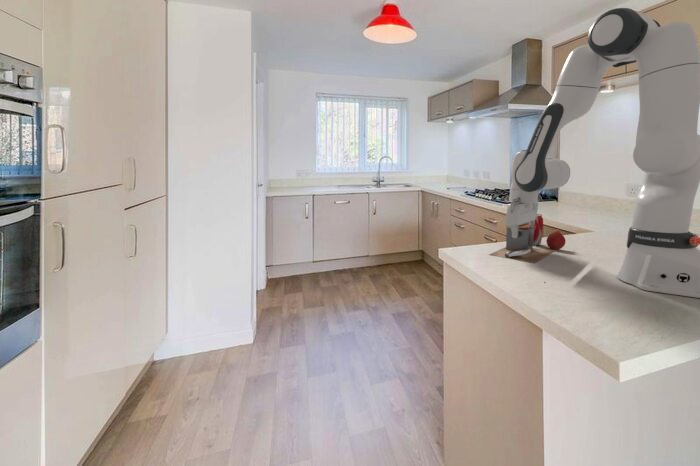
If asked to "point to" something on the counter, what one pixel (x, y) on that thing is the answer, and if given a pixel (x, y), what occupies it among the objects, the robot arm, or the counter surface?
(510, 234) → the socket
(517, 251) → the keeper
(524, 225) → the pin
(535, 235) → the soda can
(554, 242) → the onion
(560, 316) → the counter surface
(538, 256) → the board
